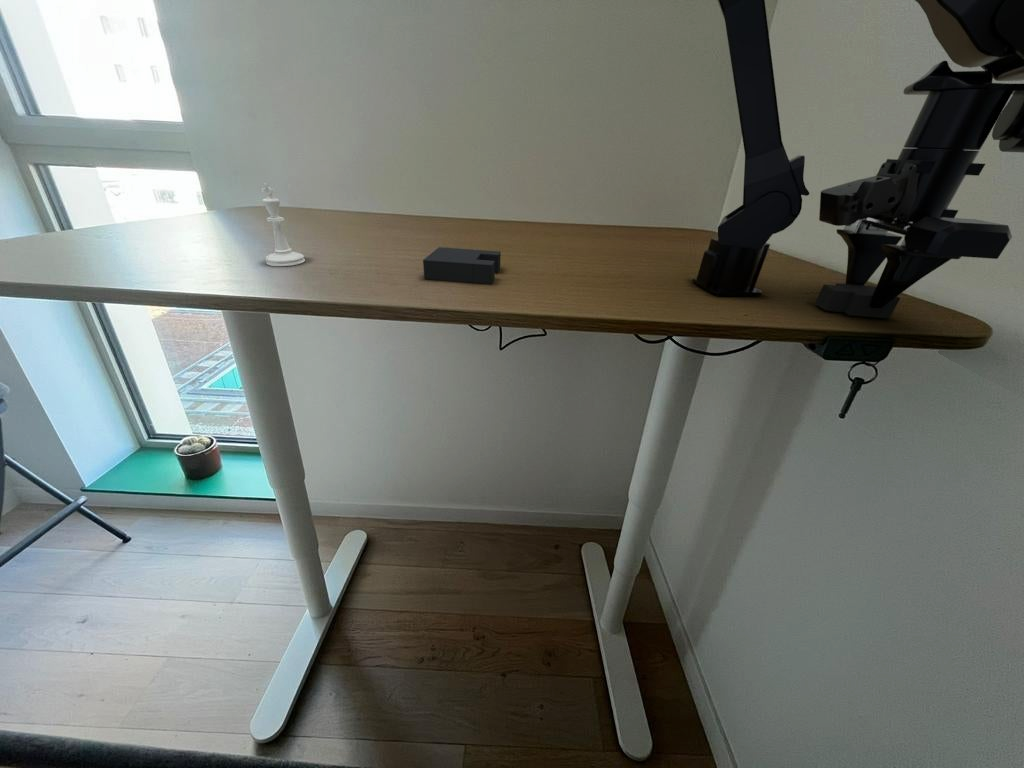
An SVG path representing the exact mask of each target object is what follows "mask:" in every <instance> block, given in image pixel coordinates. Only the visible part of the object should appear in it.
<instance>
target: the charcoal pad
mask: <svg viewBox="0 0 1024 768" xmlns="http://www.w3.org/2000/svg"><path fill="white" fill-rule="evenodd" d="M501 254H502V253H501V251H500V250H487V249H486V250H485V249H484V250H483V249H470V248H458V247H457V248H455V247H445V246H444V247H443V246H438V247H437V248H436V249H434V251H432V252H431V253H429V255H427V256H426V257H425V258H423V260H422V265H423V279H424V280H433V281H443V282H445V281H446V282H457V283H471V284H472V283H473V284H482V285H483V284H484V285H492V284H493V283H494V282H495V276H496V275H495V274H498V273H499V272H500V270H501V258H502V257H501V256H502V255H501Z"/></svg>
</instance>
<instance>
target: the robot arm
mask: <svg viewBox="0 0 1024 768" xmlns="http://www.w3.org/2000/svg"><path fill="white" fill-rule="evenodd" d="M716 1H717V4H718V7H719V9H720V12H721V15H722V17H723V20H724V24H725V30H726V37H727V44H728V49H729V50H728V51H729V57H730V64H731V70H732V77H733V83H734V90H735V97H736V98H735V99H736V104H737V110H738V111H737V112H738V116H739V123H740V131H741V138H742V144H743V145H742V146H743V150H744V167H743V168H744V172H743V189H742V191H743V192H742V193H743V195H742V205H740V206H739V207H737V208H736V209H734V210H733V211H731V212H730V213H727V214H726V215H725V216H723V217H722V219H721V221H720V222H719V225H718V227H717V237H711V238H710V240H709V244H708V247H707V249H706V250H705V251H704V252H703V255H702V259H701V263H700V267H699V270H698V273H697V276H695V277H692V280H691V281H692V282H693V283H694V284H696V285H697V286H699V287H701V288H703V289H705V290H706V291H708V292H710V293H711V294H713V295H715V296H761V295H762V293H763V291H762V290H761V289H758V288H756V284H757V282H758V280H759V276H760V275H761V271H762V269H763V266H764V263H765V260H766V258H767V255H768V252H769V249H770V247H771V243H768V241H769V240H770V238H771V237H772V236H773V235H774V234H778V233H780V232H783V231H785V230H786V229H787V228H788V227H790V226H791V225H792V224H793V223H794V222H795V221H796V219H797V218H798V217H799V215H801V211H802V208H803V196H805V197H807V196H809V195H810V191H809V190H808V189H807V186H806V185H805V181H804V174H805V163H806V162H805V160H806V157H805V155H801V154H799V155H797V156H795V157H792V158H790V159H789V157H788V154H787V152H786V149H785V146H784V143H783V138H782V131H781V123H780V116H779V106H778V97H777V91H776V83H775V74H774V65H773V58H772V50H771V41H770V33H769V24H768V17H767V8H766V0H716ZM914 2H916V3H917V4H918V5H919V6H920V8H921V9H922V11H923V12H924V14H925V15H926V18H927V21H928V24H929V25H930V28H931V31H932V33H933V35H934V38H936V40H937V42H938V43H939V45H940V46H941V47H942V49H943V50H944V51H945V53H946V55H947V56H948V58H949V59H950V60H951V61H952V63H954V64H956V65H958V66H960V67H962V68H970V69H972V68H979V67H980V68H981V69H983V70H961V71H958V70H957V71H956V70H955V71H954V70H952V69H951V67H950V65H949V62H948V61H947V60H942V61H939V62H938V63H937V64H934V65H933V66H932V67H931V68H930V69H929V71H927V72H926V73H925V74H924V75H922V76H921V77H920V78H919V79H917V80H915V81H914V82H912V83H911V84H909V85H907V86H906V87H904V88H903V94H904V95H906V96H925V95H926V98H925V100H924V102H923V105H922V106H921V109H920V110H919V113H918V115H917V116H916V119H915V122H914V124H913V126H912V128H911V129H910V132H909V134H908V136H907V138H906V140H905V142H904V145H903V148H902V149H901V151H900V153H899V155H898V158H897V159H896V158H895V159H894V158H893V159H892V158H887V159H886V161H884V162H883V163H882V164H881V165H880V168H879V169H878V172H877V174H876V175H874V176H869V177H866V178H861V179H856V180H852V181H849V182H846V183H842V184H838V185H836V186H831V187H828V188H825V189H823V190H821V191H820V197H819V213H818V215H819V217H818V220H819V221H820V222H821V223H825V224H829V225H832V226H836V227H842V226H843V228H842V229H841V228H840V229H839V228H837V229H836V234H837V235H839V236H840V237H841V238H842V240H843V241H844V242H845V244H846V246H847V264H846V272H845V273H846V275H845V284H853V285H866V284H867V282H868V281H869V280H870V279H871V277H873V275H874V274H875V273H876V271H877V270H878V268H879V267H880V266H881V265H882V264H883V262H884V261H885V260H886V263H885V264H884V267H883V270H882V272H881V275H880V277H879V279H878V282H877V285H875V286H876V289H875V291H874V293H873V296H872V299H871V303H870V307H872V308H882V307H883V306H884V305H886V304H887V303H889V302H890V301H891V300H893V299H894V298H895V297H899V296H900V295H901V294H902V293H904V292H905V291H906V290H907V289H909V288H910V287H912V286H913V285H915V284H916V283H917V282H919V281H920V280H921V279H923V278H924V277H926V276H927V275H929V274H931V273H932V272H933V271H935V270H936V269H938V268H940V267H942V266H943V265H944V264H946V263H947V262H950V261H951V260H960V259H961V258H976V259H992V260H993V259H994V260H998V259H1000V257H1001V254H1003V252H1004V250H1005V248H1006V247H1007V245H1008V244H1009V243H1010V241H1011V240H1012V238H1013V235H1012V232H1011V230H1010V227H1009V225H1008V224H1003V223H998V222H991V221H987V220H982V219H976V218H963V217H962V218H960V217H956V216H957V214H958V212H959V209H954V208H949V206H950V205H951V203H952V201H953V199H954V197H955V195H956V194H957V192H958V190H959V189H960V187H961V185H962V183H963V181H964V180H965V178H966V177H967V176H980V174H981V173H982V171H983V169H984V167H985V166H986V163H980V162H979V163H978V162H977V163H975V160H976V158H977V156H978V155H979V153H980V151H981V149H982V147H983V146H984V144H985V142H986V140H987V139H988V136H989V135H990V133H991V137H992V139H993V141H999V142H998V149H999V151H1000V152H1003V153H1024V83H1004V82H1021V81H1024V0H914ZM993 81H995V82H993ZM991 131H992V132H991ZM890 232H892V233H890ZM893 233H895V234H893ZM898 234H899V235H898ZM903 236H904V239H903ZM902 239H903V240H902ZM901 240H902V242H901ZM900 242H901V244H899V243H900Z"/></svg>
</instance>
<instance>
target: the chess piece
mask: <svg viewBox="0 0 1024 768" xmlns="http://www.w3.org/2000/svg"><path fill="white" fill-rule="evenodd" d="M263 186H264V187H262V188H261V187H260V190H261V192H262V193H266V198H263V199H262V200H261V202H262V204H263V205H264V207H265V209H266V211H267V212H268V214H269V217H266V222H268V223H269V222H270V223H272V229H273V235H274V244H275V245H274V246H275V249H273V251H274V252H272V253H270V254H268V255H267V256H265V260H266V262H265V263H266V264H267V265H268V266H271V267H289V266H290V267H291V266H297V265H300V264H303V263H304V262H305V261H306V259H305V256H304V254H302V253H300V252H297V251H293V248H291V247H290V245H289V242H288V240H287V238H286V235H285V232H284V229H283V227H282V224H281V222H284V221H285V218H284V216H283V217H282V216H280V214H279V212H280V201H281V200H280V199H279V198H278V197H277V198H276V197H274V196H273V194H276V193H277V191H276V189H275V188H271V185H270V182H264V183H263Z"/></svg>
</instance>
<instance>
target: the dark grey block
mask: <svg viewBox="0 0 1024 768" xmlns="http://www.w3.org/2000/svg"><path fill="white" fill-rule="evenodd" d="M876 286H877V285H868V284H867V285H866V284H864V285H853V284H846V283H838V282H837V283H835V284H823V285H822V288H821V290H820V292H819V294H818V296H817V299H816V301H815V302H814V305H815V306H818V307H819V308H821V309H822V310H824V311H825V312H834V313H844V314H846V315H847V316H852V317H863V318H877V319H890V318H891V316H892V315H893V313H894V311H895V309H896V308H897V305H898V304H899V302H900V300H901V297H899V296H897V297H895V298H894V299H893V300H891V301H890V302H889V303H887V304H886V305H884V306H883V307H882V308H872V307H870V303H871V299H872V296H873V293H874V291H875V289H876Z"/></svg>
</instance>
